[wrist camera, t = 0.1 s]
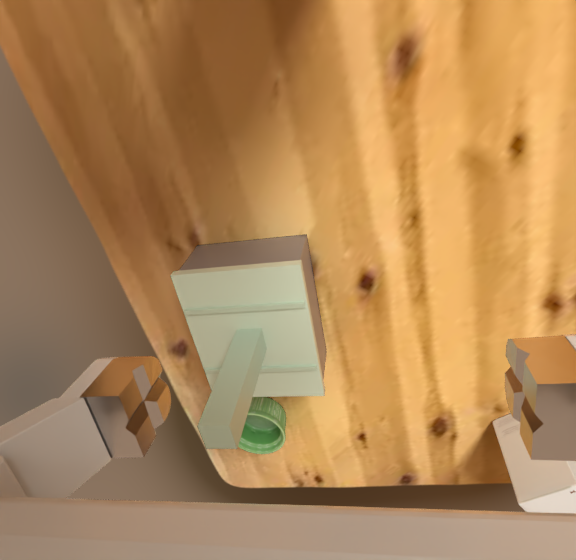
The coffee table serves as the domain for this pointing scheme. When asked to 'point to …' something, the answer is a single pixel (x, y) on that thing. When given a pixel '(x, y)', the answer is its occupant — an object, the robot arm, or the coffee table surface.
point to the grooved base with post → (249, 340)
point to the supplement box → (535, 473)
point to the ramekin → (263, 427)
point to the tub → (264, 253)
